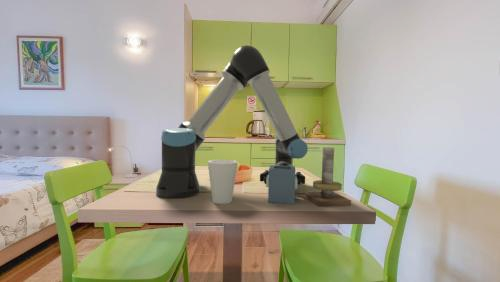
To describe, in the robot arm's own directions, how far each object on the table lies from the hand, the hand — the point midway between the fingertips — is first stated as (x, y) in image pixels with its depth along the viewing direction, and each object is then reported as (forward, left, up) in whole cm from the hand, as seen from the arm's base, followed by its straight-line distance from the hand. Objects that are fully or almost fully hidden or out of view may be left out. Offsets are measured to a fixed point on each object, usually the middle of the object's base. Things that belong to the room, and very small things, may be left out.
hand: (281, 183), depth 76 cm
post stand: (-1, +17, -6) cm, 18 cm away
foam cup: (-5, -18, -7) cm, 20 cm away
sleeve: (-4, +2, -6) cm, 8 cm away
